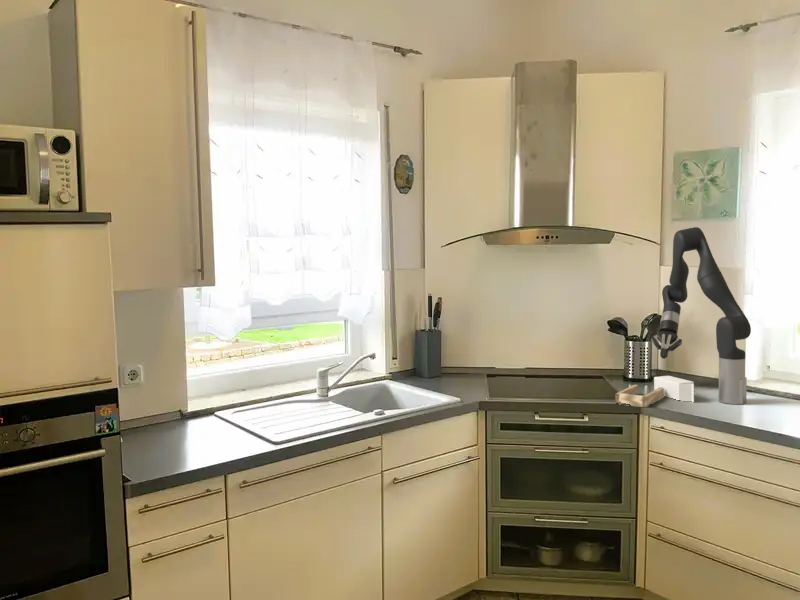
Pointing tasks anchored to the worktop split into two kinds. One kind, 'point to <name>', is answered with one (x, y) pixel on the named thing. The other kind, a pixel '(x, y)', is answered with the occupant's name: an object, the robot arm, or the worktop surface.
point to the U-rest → (636, 400)
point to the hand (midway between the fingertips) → (663, 357)
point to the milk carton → (676, 388)
